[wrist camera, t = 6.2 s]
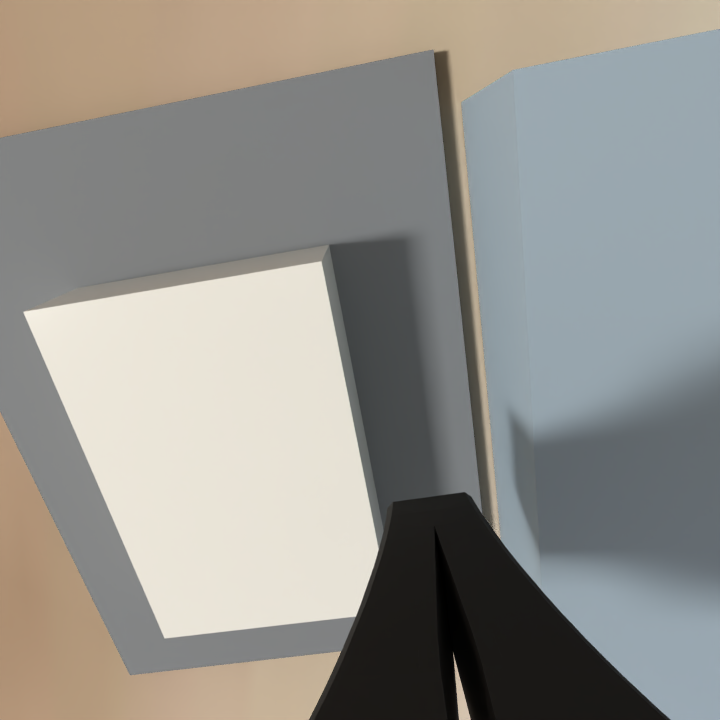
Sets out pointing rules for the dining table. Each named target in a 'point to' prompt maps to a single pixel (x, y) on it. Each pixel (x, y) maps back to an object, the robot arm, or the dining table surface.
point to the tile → (223, 437)
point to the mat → (237, 242)
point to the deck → (609, 347)
